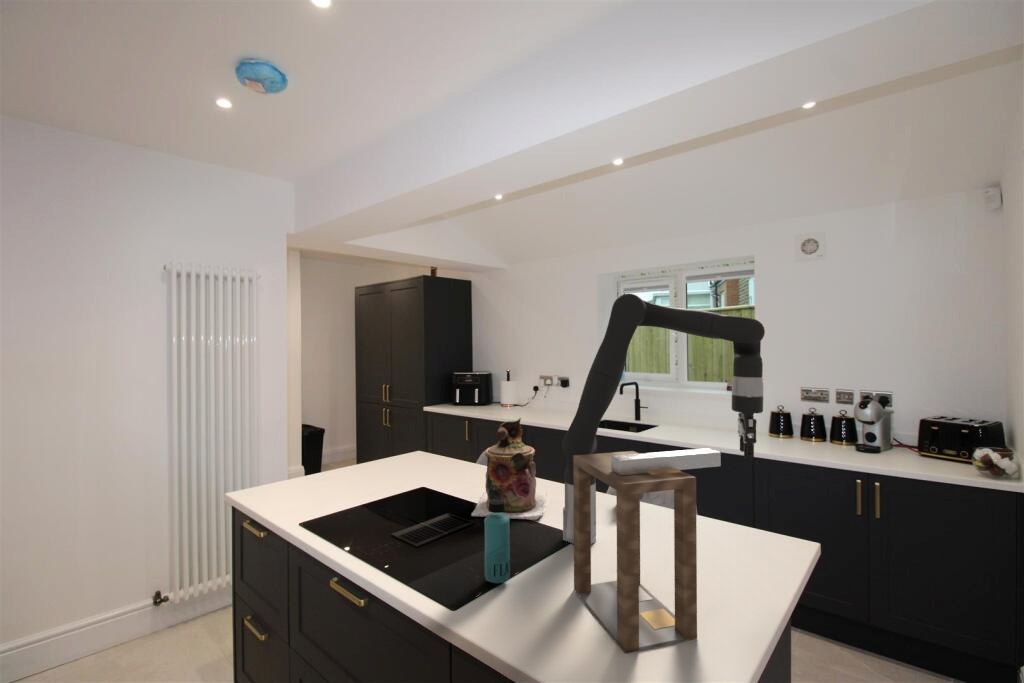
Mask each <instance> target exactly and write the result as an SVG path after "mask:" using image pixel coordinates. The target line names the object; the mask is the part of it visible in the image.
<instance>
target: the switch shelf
mask: <svg viewBox="0 0 1024 683" xmlns="http://www.w3.org/2000/svg"><path fill="white" fill-rule="evenodd" d="M629 454H640V452H637V451H634V450H629V451H628V450H627V451H615V452H602V453H600V452H599V453H597V454H586V455H573V478H574V544H573V590H574V592H575V591H576V592H575V593H576V594H577V596H578V597H579V598H580V599H581V600H582V602H583V603H584V604H585V606H586V607H587V608H588V610H590V612H591V613H592V614H593V615H594V617H595V616H596V617H595V618H596V619H597V621H598V622H599V621H600V622H599V623H600V624H601V625H602V627H603V626H604V627H603V628H604V629H605V630H606V631H608V632H607V633H608V634H609V636H610V637H611V638H612V640H614V642H615V643H616V644H617V645H618V647H619V648H620V649H621V650H622V651H623V653H624V654H629V653H634V652H638V651H643V650H648V649H652V648H657V647H658V648H659V647H663V646H667V645H671V644H676V643H681V642H686V641H691V640H696V639H698V592H697V591H698V583H697V582H698V576H697V573H698V570H697V568H698V567H697V566H698V565H697V564H698V563H697V560H698V559H697V558H698V557H697V556H698V555H697V550H698V549H697V547H698V546H697V545H698V544H697V543H698V542H697V536H698V535H697V476H694V475H691V474H689V473H686V472H684V471H682V470H674V471H663V472H652V473H641V474H630V475H619V474H617V473H615V472H613V471H612V470H611V456H616V455H629ZM590 474H591V475H592V476H594V477H596V480H597V479H598V480H599V481H600V482H602V483H604V484H605V485H607V486H608V487H610V488H613V489H614V490H616V491H615V492H616V580H611V581H605V582H604V581H603V582H600V583H592V557H591V556H592V544H591V481H590ZM663 491H664V492H665V491H673V516H674V517H673V521H674V522H673V528H674V529H673V531H674V533H673V536H674V537H673V539H674V540H673V542H674V544H673V545H674V550H673V552H674V554H673V557H674V562H673V563H674V564H673V565H674V612H672V611H671V610H670V609H669V608H668V607H667V606H666V605H664V604H663V602H661V601H660V600H659V599H657V597H655V595H654V594H652V593H651V592H650V591H649V590H648V589H647V588H646V587H645V586H643V585H642V583H641V501H640V500H641V497H640V496H641V494H646V493H657V492H663Z"/></svg>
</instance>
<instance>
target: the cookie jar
mask: <svg viewBox="0 0 1024 683" xmlns="http://www.w3.org/2000/svg"><path fill="white" fill-rule="evenodd" d="M521 420H522V417H519V418H518V419H516V420H508V421H504V422H503V423H502V424H500V425H499V426H498V428H497V432H496V433H495V437H496V438H497V439H498V442H497V443H495V444H494V445H492V446H490V447H487V448H486V450H485V452H484V455H485V457H486V458H487V460H486V461H487V464H486V472H485V485H484V486H485V491H484V492H483V493H482V495H481V496H482V497H481V498H480V499H479V500H478V502H477V504H476V506H475V508H474V509H473V511H472V512H471V515H470V516H471V517H487V516H488V515H489V514H491V513H493V512H490V511H489V510H488V508H489V502H490V501H492V500H503V501H504V502H505V511H504V512H500V513H503V514H505V515H506V516H507V517H508V518H509V519H514V520H515V519H517V520H531V521H535V520H538V519H539V518H541V517H542V516H543V514H544V512H545V508H546V498H547V495H548V493H547V492H537V491H536V489H537V479H536V474H537V471H536V463H535V462H534V461H533V460H534V458H533V457H534V456H535V454H536V453H535V452H536V450H535V449H534V447H532V446H529V445H526V444H525V443H524V442H523V441H522V437H523V436H522V435H523V429H522V425H521Z"/></svg>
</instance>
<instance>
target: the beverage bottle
mask: <svg viewBox="0 0 1024 683" xmlns="http://www.w3.org/2000/svg"><path fill="white" fill-rule="evenodd" d="M488 510H489V511H490V512H493V513H491V514H489V515H488V516H485V518H484V520H483V521H484V578H485V580H486V581H487V582H489V583H492V584H502V583H505V582H507V581H508V580H509V579H510V576H511V558H510V557H511V549H510V547H511V545H510V543H511V533H510V520H511V519H510V518H508V517H507V516H506V515H505V514H503V513H500V512H504V511H505V502H504V501H503V500H492V501H490V502H489V508H488Z"/></svg>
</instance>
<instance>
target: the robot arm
mask: <svg viewBox="0 0 1024 683" xmlns="http://www.w3.org/2000/svg"><path fill="white" fill-rule="evenodd" d="M638 327H653V328H661V329H667V330H672V331H675V332H678V333H679V332H680V333H684V334H688V335H692V336H697V337H700V338H701V337H702V338H706V339H708V338H709V339H714V340H715V339H716V340H724V341H729V342H732V343H733V344H732V345H733V346H732V347H733V348H732V349H733V363H732V365H733V366H732V367H733V368H732V381H731V382H732V383H731V410H732V411H733V412H737V413H738V414H737V415H738V417H737V433H738V438H739V451H740V452H743V457H744V459H748V460H753V459H754V458H755V444H756V443H757V419H756V418H755V416H754V414H762V413H763V412H764V382H763V380H764V379H763V370H764V369H763V366H764V365H763V364H764V363H763V359H762V355H761V351H762V350H761V343H762V340H763V338H764V337H765V334H766V333H765V331H766V330H765V327H764V325H763V323H762V322H760V321H759V320H757V319H755V318H753V317H752V318H751V317H745V316H737V315H736V316H735V315H725V314H721V313H717V312H711V311H706V310H700V309H694V308H693V309H690V308H682V307H681V308H680V307H669V306H665V305H660V304H656V303H652V302H650V301H647V300H644V299H642V298H641V297H639V296H638V295H637V294H634V293H630V292H629V293H624V294H621V295H620V296H618V297H617V298H616V299H615V301H614V302H613V305H612V308H611V311H610V316H609V319H608V323H607V326H606V331H605V334H604V337H603V340H602V342H600V345H599V348H598V350H597V352H596V355H595V356H594V360H593V361H592V364H591V366H590V368H589V372H588V373H587V377H586V380H585V383H584V386H583V388H582V389H583V390H582V393H581V396H580V398H579V399H580V400H579V403H578V407H577V410H576V413H575V416H574V417H573V419H572V421H571V424H570V425H569V428H568V430H567V432H566V433H565V435H564V437H563V440H562V451H563V454H564V456H565V457H566V466H565V470H564V507H562V508H563V509H562V541H563V540H564V542H567V541H568V543H569V542H570V543H569V544H571V543H572V545H574V478H573V455H586V454H598V440H597V436H596V435H597V433H598V429H599V427H600V423H601V421H602V419H603V417H604V416H605V413H606V412H607V410H608V408H609V407H610V405H611V403H612V401H613V400H614V397H615V396H616V393H617V390H618V387H619V385H620V382H621V380H622V377H623V374H624V370H625V366H626V360H627V356H628V355H627V354H628V351H629V346H630V344H631V341H632V339H633V336H634V334H635V333H636V330H637V328H638ZM596 480H597V478H596V477H594V476H592V475H591V474H590V481H591V545H592V544H594V543H595V542H597V499H596V498H597V491H596V490H597V487H596V486H597V483H596Z"/></svg>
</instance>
